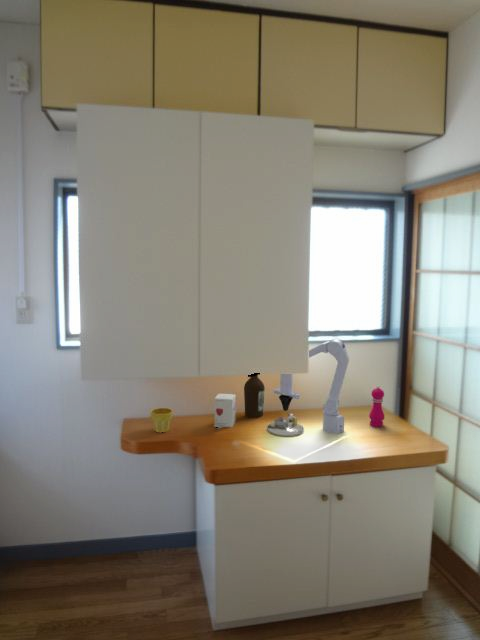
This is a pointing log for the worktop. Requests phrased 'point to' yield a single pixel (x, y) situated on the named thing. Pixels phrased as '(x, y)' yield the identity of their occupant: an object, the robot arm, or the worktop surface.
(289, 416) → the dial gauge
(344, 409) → the worktop surface
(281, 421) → the cover
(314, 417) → the worktop surface
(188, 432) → the worktop surface
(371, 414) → the pepper mill
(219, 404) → the supplement box
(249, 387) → the olive oil
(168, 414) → the plant pot
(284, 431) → the turntable
